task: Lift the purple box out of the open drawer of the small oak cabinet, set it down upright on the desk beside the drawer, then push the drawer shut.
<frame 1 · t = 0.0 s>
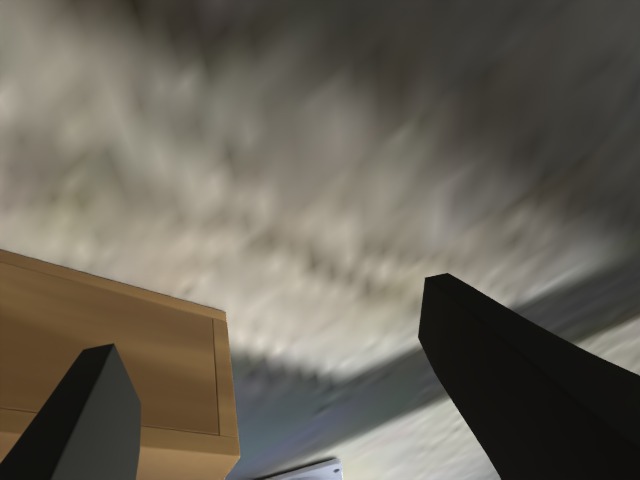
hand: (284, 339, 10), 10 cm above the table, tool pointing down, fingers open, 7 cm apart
cabinet: (36, 388, 21), on the table
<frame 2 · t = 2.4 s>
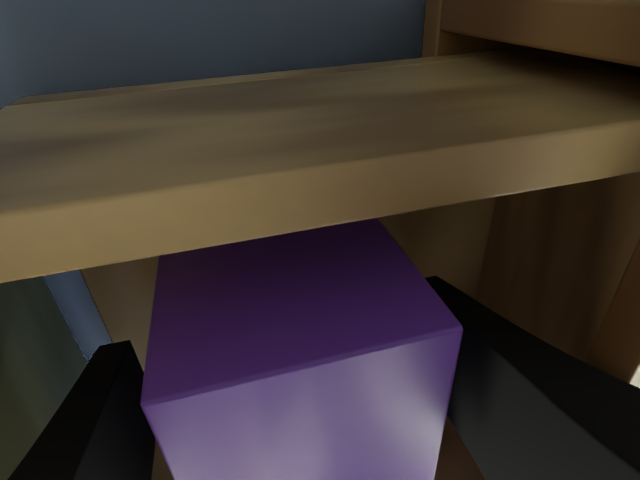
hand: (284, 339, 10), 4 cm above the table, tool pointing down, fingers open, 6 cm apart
drawer: (205, 357, 9), point 4 cm above the table, slide at 10.8 cm, touching purple box
purple box: (272, 287, 11), point 2 cm above the table, touching drawer
cabinet: (597, 189, 16), on the table
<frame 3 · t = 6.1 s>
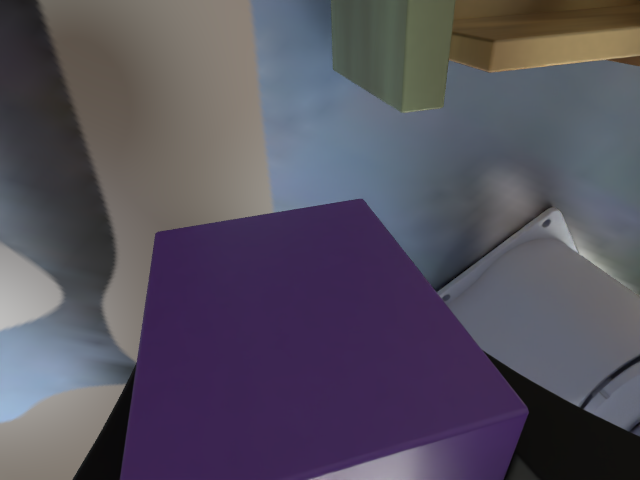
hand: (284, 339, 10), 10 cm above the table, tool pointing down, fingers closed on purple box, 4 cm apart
purple box: (278, 318, 10), point 9 cm above the table, touching gripper
when the fingers open (1 cm above the table, at t = 8.9 s): purple box stays where it is, on the table.
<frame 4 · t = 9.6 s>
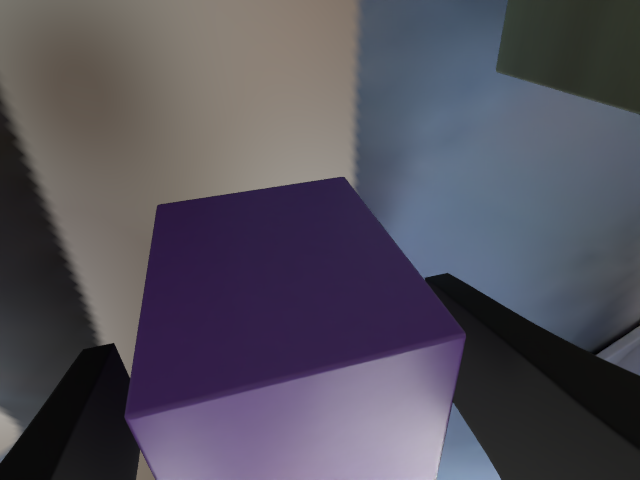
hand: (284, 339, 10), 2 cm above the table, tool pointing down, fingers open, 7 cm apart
purple box: (268, 288, 11), on the table
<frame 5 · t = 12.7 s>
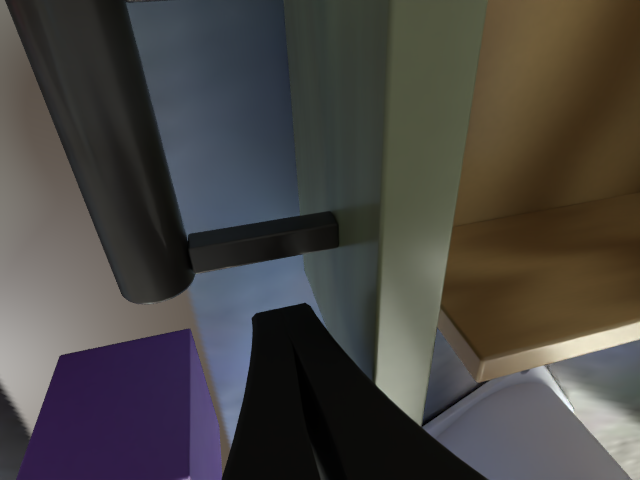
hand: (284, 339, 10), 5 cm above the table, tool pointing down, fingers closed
drawer: (548, 82, 9), point 4 cm above the table, slide at 9.7 cm, touching gripper
purple box: (149, 394, 16), on the table
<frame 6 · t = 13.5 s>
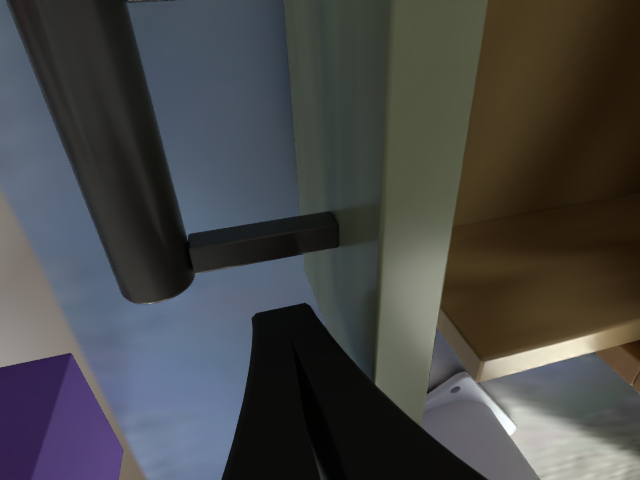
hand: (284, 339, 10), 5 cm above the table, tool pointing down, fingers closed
drawer: (548, 82, 9), point 4 cm above the table, slide at 5.7 cm, touching gripper
purple box: (37, 420, 15), on the table
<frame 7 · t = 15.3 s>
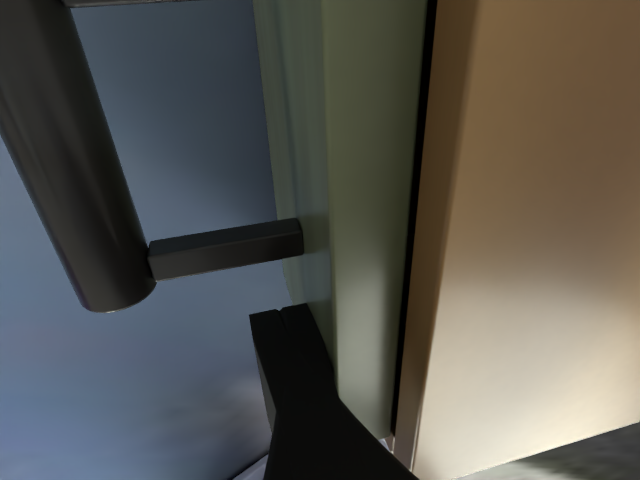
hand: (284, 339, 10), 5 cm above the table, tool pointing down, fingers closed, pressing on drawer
drawer: (519, 86, 9), point 4 cm above the table, slide at 0.0 cm, touching cabinet, gripper
cabinet: (544, 46, 13), on the table
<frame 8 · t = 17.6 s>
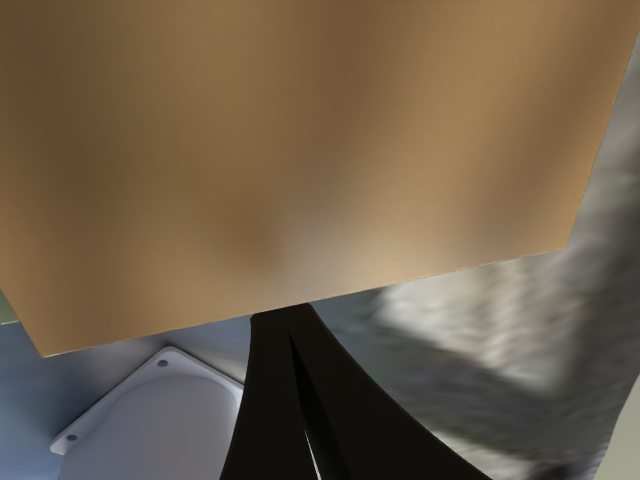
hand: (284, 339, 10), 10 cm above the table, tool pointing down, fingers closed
drawer: (143, 31, 11), point 4 cm above the table, slide at 0.0 cm, touching cabinet
cabinet: (267, 12, 15), on the table
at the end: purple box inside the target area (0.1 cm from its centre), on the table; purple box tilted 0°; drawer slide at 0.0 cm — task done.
